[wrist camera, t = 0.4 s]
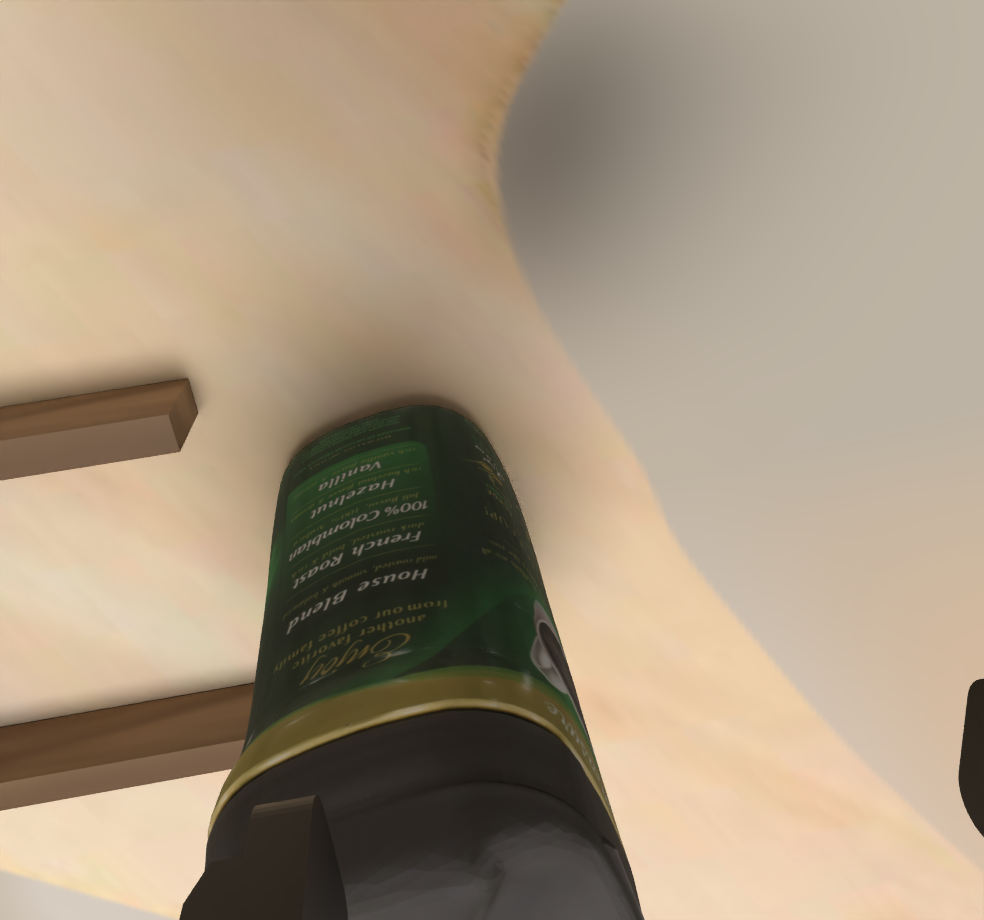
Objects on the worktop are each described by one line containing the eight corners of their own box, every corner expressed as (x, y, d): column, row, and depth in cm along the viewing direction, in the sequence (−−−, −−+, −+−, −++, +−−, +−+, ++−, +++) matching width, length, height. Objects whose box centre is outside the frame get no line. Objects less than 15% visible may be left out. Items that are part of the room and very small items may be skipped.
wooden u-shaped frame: (-243, 445, 27) (-309, 489, 25) (187, 378, 28) (168, 414, 25) (-69, 766, 33) (-109, 830, 31) (282, 703, 34) (274, 760, 31)
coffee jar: (244, 451, 29) (77, 988, 13) (468, 368, 29) (597, 807, 12) (358, 665, 34) (344, 1277, 17) (554, 595, 33) (736, 1147, 17)
